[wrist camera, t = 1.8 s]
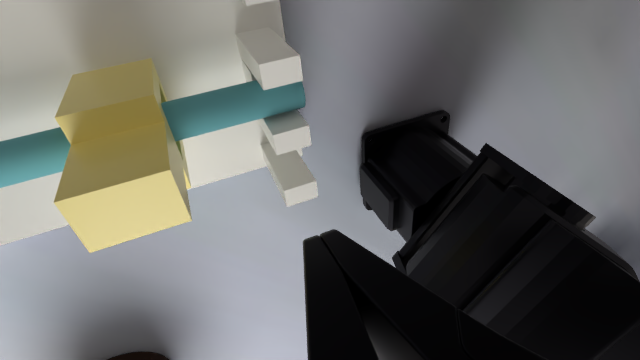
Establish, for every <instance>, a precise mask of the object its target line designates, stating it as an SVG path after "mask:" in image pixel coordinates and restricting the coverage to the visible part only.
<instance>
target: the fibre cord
mask: <svg viewBox="0 0 640 360" xmlns="http://www.w3.org/2000/svg"><path fill="white" fill-rule="evenodd" d="M161 106H162V109H163V112H164V114H165V117H166V119H167V122H168V124H169V127H170V129H171V132H172V134H173V137H174V139H175V141H179V140H183V139H187V138H190V137H194V136H198V135H202V134H205V133H209V132H213V131H217V130H220V129H224V128H228V127H232V126H235V125H239V124H243V123H247V122H250V121H254V120H258V119H262V118H265V117H269V116H273V115H277V114H281V113H284V112H288V111H292V110H296V109H299V108H303V107H305V93H304V88H303V85H302V81H300V82H296V83H292V84H287V85H283V86H279V87H275V88H271V89H267V90H263V89H262V87H261V86H260V84H259V83H258V81H257V80H254V81H250V82H246V83H242V84H238V85H233V86H229V87H225V88H221V89H217V90H213V91H208V92H204V93H200V94H196V95H192V96H188V97H183V98H179V99H175V100H171V101H167V102H163V103H161ZM70 146H71V144H70V142H69V141H68V139H67V137H66V136H65V134H64V132H63V131H62V129H61V128H60V127H58V128H54V129H50V130H46V131H42V132H38V133H33V134H29V135H25V136H21V137H17V138H13V139H8V140H4V141H0V188H2V187H6V186H10V185H14V184H17V183H21V182H25V181H29V180H32V179H36V178H40V177H44V176H47V175H51V174H55V173H59V172H63V169H64V166H65V163H66V159H67V156H68V153H69V149H70Z"/></svg>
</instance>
